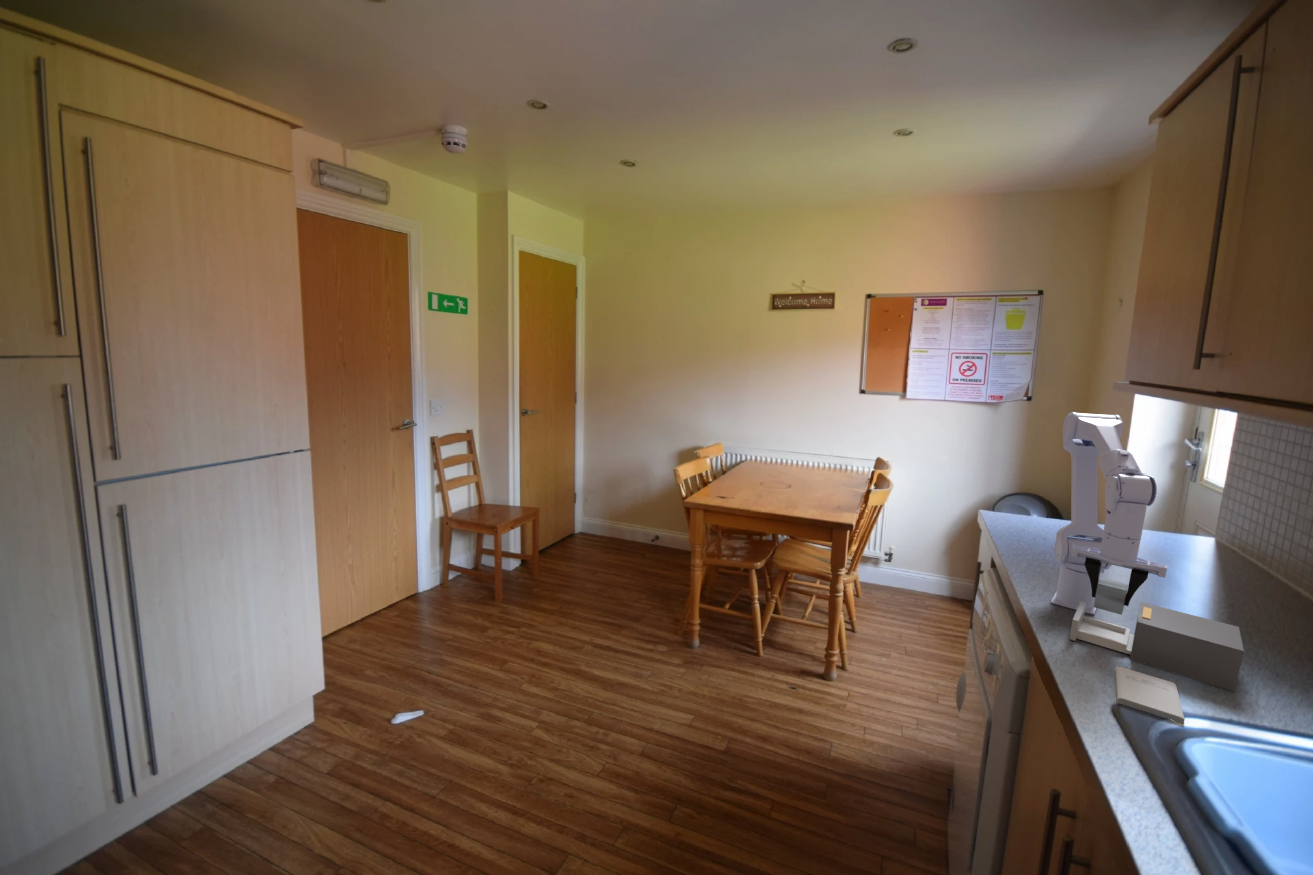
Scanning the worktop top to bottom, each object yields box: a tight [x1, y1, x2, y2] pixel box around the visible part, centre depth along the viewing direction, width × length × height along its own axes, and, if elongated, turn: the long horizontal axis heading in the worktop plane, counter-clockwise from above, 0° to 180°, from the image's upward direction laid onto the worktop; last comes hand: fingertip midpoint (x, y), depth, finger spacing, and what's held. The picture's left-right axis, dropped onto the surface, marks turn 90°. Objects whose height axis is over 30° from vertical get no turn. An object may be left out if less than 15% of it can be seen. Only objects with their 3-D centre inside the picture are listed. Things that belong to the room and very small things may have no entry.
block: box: [1094, 576, 1129, 615], centre depth 112 cm, size 4×4×5 cm
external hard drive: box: [1114, 666, 1185, 725], centre depth 96 cm, size 2×8×12 cm
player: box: [1129, 601, 1245, 693], centre depth 106 cm, size 12×14×8 cm
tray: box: [1069, 601, 1134, 656], centre depth 112 cm, size 12×14×4 cm
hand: (1110, 599), depth 113 cm, fingers closed on block, 4 cm apart
